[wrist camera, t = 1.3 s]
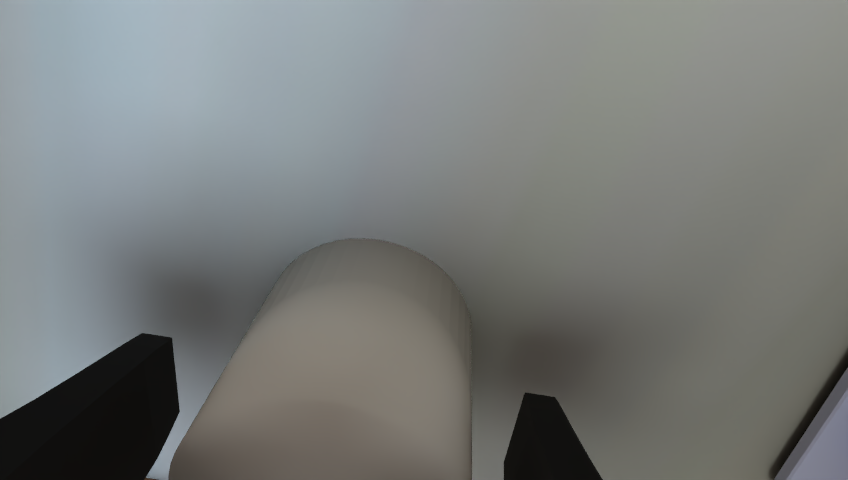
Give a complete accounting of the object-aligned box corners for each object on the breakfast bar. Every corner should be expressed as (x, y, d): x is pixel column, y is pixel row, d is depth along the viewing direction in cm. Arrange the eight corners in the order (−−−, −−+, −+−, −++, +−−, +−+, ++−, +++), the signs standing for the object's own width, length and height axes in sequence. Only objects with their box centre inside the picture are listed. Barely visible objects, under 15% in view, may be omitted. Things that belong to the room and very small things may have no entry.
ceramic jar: (489, 256, 12) (500, 428, 8) (453, 417, 14) (446, 620, 10) (269, 222, 12) (154, 373, 8) (268, 388, 14) (180, 577, 10)
